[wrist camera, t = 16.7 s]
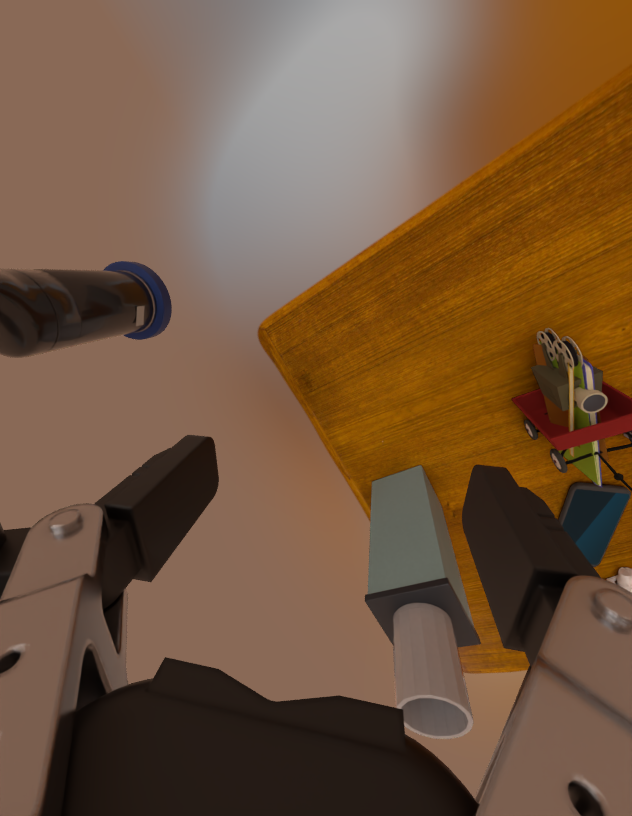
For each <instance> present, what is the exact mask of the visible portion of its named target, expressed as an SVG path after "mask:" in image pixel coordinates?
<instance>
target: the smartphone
mask: <svg viewBox="0 0 632 816" xmlns="http://www.w3.org/2000/svg"><path fill="white" fill-rule="evenodd" d="M630 496H631V492H630V491H629V490H628V489H627V488H625V487H622V486H613V485H602V487H600V486H598V485H596V484H592V483H581V482H580V483H575V484H573V485H572V486H571V487H570V489H569V492H568V495H567V498H566V500H565V503H564V506H563V509H562V511H561V514H560V517H559V520H558V521H559V522H560V524H561V525H562V526H563V528H564V531H566V532H567V533H568V534H569V536H570V537H571V538H572V540H573V541H574V542H575V544H576V545H577V546H578V548H579V549H580V550H581V552H582V553H583V555H584V556H585V557H586V559H587V560H588V561H589V563H590V564H591V565H592V567H595V566H598V565H599V564H600V562H601V560H602V558H603V556H604V553H605V551H606V549H607V547H608V545H609V542H610V540H611V538H612V536H613V534H614V531H615V529H616V527H617V525H618V523H619V520H620V518H621V516H622V514H623V512H624V509H625V507H626V505H627V503H628V500H629V498H630Z"/></svg>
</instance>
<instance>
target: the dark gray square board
mask: <svg viewBox="0 0 632 816" xmlns="http://www.w3.org/2000/svg"><path fill="white" fill-rule="evenodd" d="M365 602H366V604H367V605H368V607H369V608H370V610H371V611H372V613H373V615H374V616H375V618H376V619H377V621H378V622H379V624H380V625H381V627H382V629H383V630H384V632H385V633H386V635H387V636H388V638H389V640H390V641H391V643H392V644H393V616H394V613H395V612H396V611H397V610H398V609H399V608H400V607H402V606H404V605H406V604H410V603H427V604H431V605H434V606H437V607H439V608H441V609H442V610H444V611H445V612H446V613H447V614H448V615H449V617H450V618H451V620H452V624H453V628H454V631H455V636H456V641H457V646H458V647H464V646H471V645H478V644H481V642H480V639H479V636H478V634H477V632H476V630H475V628H474V625H473V621H472V618H471V614H470V610H469V606H468V603H467V599H466V595H465V592H464V588H463V584H462V580H461V577H460V573H459V569H458V565H457V562H456V558H455V554H454V551H453V547H452V543H451V539H450V536H449V532H448V528H447V525H446V521H445V517H444V513H443V510H442V506H441V504H440V502H439V500H438V498H437V496H436V494H435V492H434V490H433V488H432V486H431V484H430V482H429V480H428V478H427V476H426V474H425V472H424V470H423V468H422V466H421V465H419V466H416V467H413V468H410V469H408V470H405V471H402V472H399V473H396V474H393V475H390V476H387V477H384V478H381V479H378V480H375V481H372V496H371V523H370V551H369V576H368V594H367V595H365Z"/></svg>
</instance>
